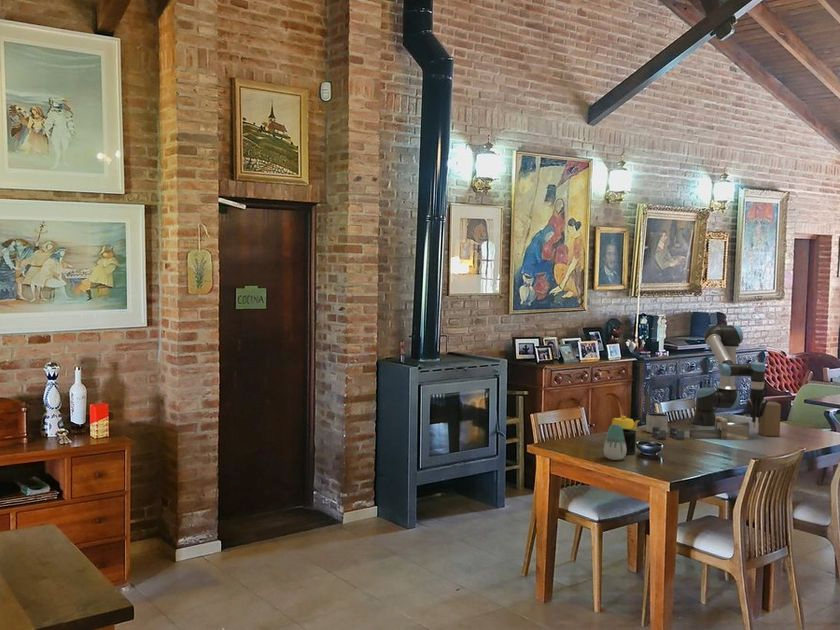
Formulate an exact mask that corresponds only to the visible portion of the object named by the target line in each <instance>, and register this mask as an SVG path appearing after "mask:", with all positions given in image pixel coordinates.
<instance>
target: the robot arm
mask: <svg viewBox="0 0 840 630" xmlns="http://www.w3.org/2000/svg"><path fill="white" fill-rule="evenodd" d="M703 338H704V342H705V344H706V345H707V346H708V347H709V348H710V349H711V351H712V353H713V356H714V357H715V359H716V360H717V362H718V365H719V366H718V373H719V375H720V379H719V381H720V382H719V385H718V386H717V389H716V388H715V387H700V388H698V389H697V390H696V393H695V411H694V413H693V417H692V419H691V420H692V421H691V422H692V424H693V423H694V424H693V425H697V426H704V427H705V426H706V427H710V426H711V427H715V417H716V414H715V409H728V410H729V409H736V408H737V406H738V405H739V403H740V400H741V398H740V397H741V396H740V392H739V390H737V387H736V386H735V380H736V379H735V377H750V389H749V391H750V392H749V395H750V396H749V398H748V399H745V402H746V405H747V411H748V415H749V416H751V418H752V419H751V422H752V423H753V424H752V425H753V426H752V427H753V429H758V425H759V419H760V417H761V416H763V414H764V410H765V406H766V404H767V402H768V400H766V399H765V397H764V395H765V376H766V375H765V374H766V364H765V363H764V362H761V361H759V362H758V361H753V362H752V363H737V362H736V360H737V357H736V356H737V349H738V348H739V347H740V344H742V343H743V340H744V334H743V330H742V328H741V326H739V325H733V324H714V325H711V326H709V327H708V328H707V329H706V331H705V332H704V335H703ZM761 403H762V405H761ZM760 406H761V409H760Z"/></svg>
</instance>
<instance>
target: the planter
mask: <svg viewBox="0 0 840 630" xmlns="http://www.w3.org/2000/svg"><path fill="white" fill-rule="evenodd" d="M645 421H646V422H645V432H647V433H648V432H649V433H648V434H652V427H660V430H666V434H667V433H668V421H669V420H668V414H667V413H661V412H648V413H646V418H645Z"/></svg>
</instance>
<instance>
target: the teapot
mask: <svg viewBox="0 0 840 630" xmlns="http://www.w3.org/2000/svg"><path fill="white" fill-rule="evenodd" d="M639 422H640V420H635V421H634V419H633V418H629V417H627V416H626V415H621V417H613V418H612V419H611V425H612V424H613V425H620V426H621V427H622V429H632V430H635V431H637V428H638V423H639Z"/></svg>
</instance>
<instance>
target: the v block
mask: <svg viewBox="0 0 840 630" xmlns="http://www.w3.org/2000/svg"><path fill="white" fill-rule="evenodd" d="M651 437H652V438H655V439H656V440H658V441H663V440H664V441H666V440H667V433H666V430H660V427H652V433H651ZM669 437H671V438H672V437H673V439H674V438H675V440H676V439H677V441H684V440H685V430H684V429H678V427H677V426H669Z"/></svg>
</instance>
